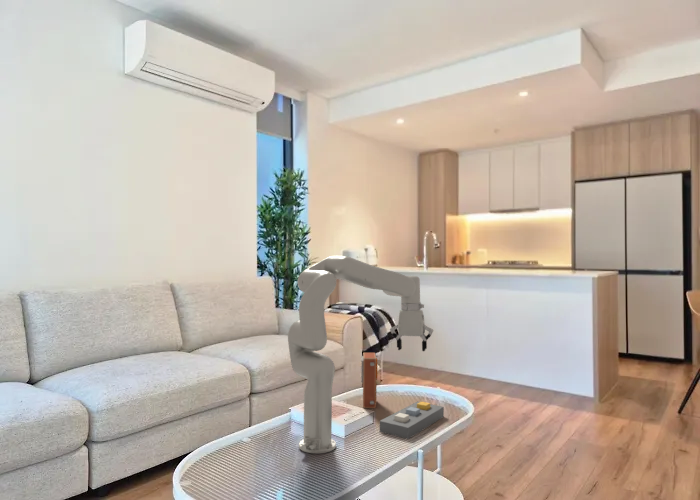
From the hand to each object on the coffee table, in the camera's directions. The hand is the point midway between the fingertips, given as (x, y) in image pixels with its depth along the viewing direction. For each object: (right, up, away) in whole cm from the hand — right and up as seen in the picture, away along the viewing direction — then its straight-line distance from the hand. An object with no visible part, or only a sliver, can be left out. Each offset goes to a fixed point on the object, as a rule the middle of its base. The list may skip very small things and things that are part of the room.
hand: (411, 350), depth 192 cm
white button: (-5, -25, -11) cm, 28 cm away
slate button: (0, -25, -4) cm, 26 cm away
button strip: (0, -28, -4) cm, 28 cm away
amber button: (+5, -25, +3) cm, 26 cm away
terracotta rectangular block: (-16, -28, +21) cm, 39 cm away
